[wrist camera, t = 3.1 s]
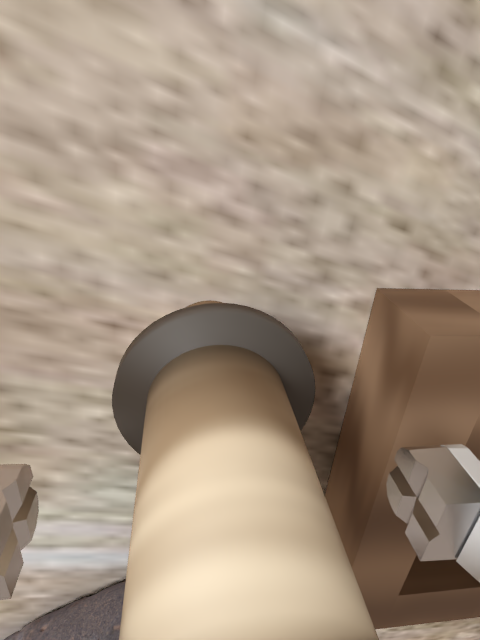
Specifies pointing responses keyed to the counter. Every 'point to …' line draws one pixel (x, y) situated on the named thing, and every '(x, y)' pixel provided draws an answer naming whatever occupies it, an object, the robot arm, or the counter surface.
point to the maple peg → (228, 487)
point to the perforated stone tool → (80, 619)
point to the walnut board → (406, 431)
